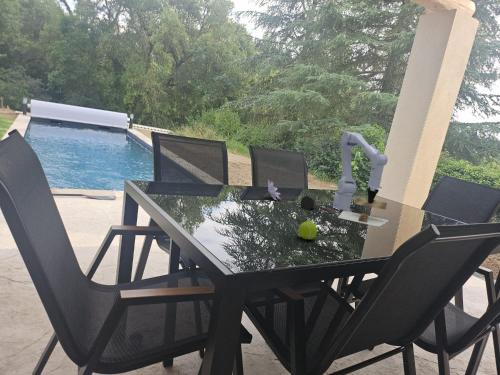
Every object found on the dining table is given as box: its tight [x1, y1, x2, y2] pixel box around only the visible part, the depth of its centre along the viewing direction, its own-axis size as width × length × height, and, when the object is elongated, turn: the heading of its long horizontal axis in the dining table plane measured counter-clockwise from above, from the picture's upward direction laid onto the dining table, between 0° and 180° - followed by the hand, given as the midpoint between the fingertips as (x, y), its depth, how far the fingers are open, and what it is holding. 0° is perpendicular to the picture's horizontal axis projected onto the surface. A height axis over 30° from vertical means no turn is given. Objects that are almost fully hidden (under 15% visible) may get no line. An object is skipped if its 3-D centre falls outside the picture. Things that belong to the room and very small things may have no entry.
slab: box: [337, 210, 389, 228], centre depth 198 cm, size 24×22×1 cm
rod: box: [353, 196, 388, 210], centre depth 200 cm, size 16×3×3 cm, turn 69°
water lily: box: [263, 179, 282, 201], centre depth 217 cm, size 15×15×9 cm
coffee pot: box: [299, 195, 336, 213], centre depth 204 cm, size 8×18×8 cm
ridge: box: [359, 212, 369, 223], centre depth 194 cm, size 4×8×3 cm, turn 159°
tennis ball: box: [298, 220, 318, 241], centre depth 148 cm, size 7×7×7 cm
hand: (370, 202), depth 200 cm, fingers closed on rod, 3 cm apart
